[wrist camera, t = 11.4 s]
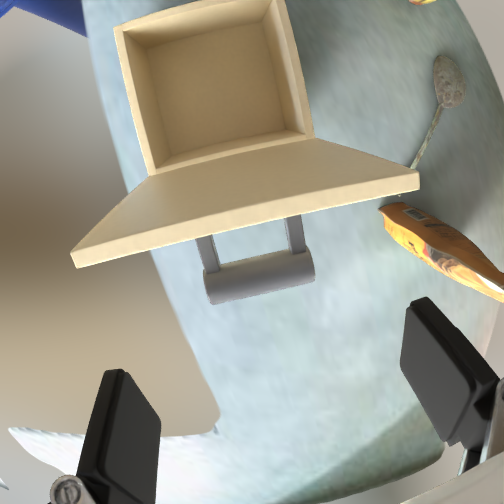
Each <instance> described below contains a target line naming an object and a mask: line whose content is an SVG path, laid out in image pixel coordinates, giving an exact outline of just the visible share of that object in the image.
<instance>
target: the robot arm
mask: <svg viewBox="0 0 504 504" xmlns="http://www.w3.org/2000/svg"><path fill="white" fill-rule="evenodd" d="M400 367H401V370H402V372H403V374H404V375H405V377H406V379H407V380H408V382H409V384H410V386H411V387H412V389H413V391H414V392H415V394H416V396H417V398H418V399H419V401H420V403H421V405H422V406H423V408H424V410H425V412H426V413H427V415H428V417H429V419H430V420H431V422H432V424H433V426H434V428H435V430H436V431H437V433H438V435H439V437H440V439H441V440H442V441H443V442H445V441H447V443H448V445H449V446H452V445H454V444H456V443H458V442H459V441H461V443H462V445H463V446H464V448H465V449H464V453H463V456H462V460H461V464H460V468H459V471H458V475H457V477H455V478H453V479H452V480H450V481H448V482H446V483H444V484H442V485H439V486H437V487H435V488H433V489H431V490H429V491H427V492H425V493H423V494H420V495H418V496H416V497H414V498H411V499H409V500H407V501H404V502H402V503H399V504H504V378H502V379H501V380H500V378H499V377H498V376H497V375H496V373H495V372H494V371H493V370H492V368H491V367H490V366H489V365H488V363H487V362H486V361H485V360H484V358H483V357H482V356H481V355H480V354H479V352H478V351H477V350H476V349H475V348H474V346H473V345H472V344H471V343H470V342H469V340H468V339H467V338H466V337H465V336H464V335H463V333H462V332H461V331H460V330H459V329H458V328H457V327H455V326H454V325H453V324H452V323H451V322H450V321H449V319H448V318H447V317H446V316H445V315H444V314H443V313H442V312H441V311H440V309H439V308H438V307H437V306H436V305H435V304H434V303H433V302H432V301H431V300H430V299H429V298H428V297H423V298H420V299H417V300H415V301H412V302H411V303H410V307H408V308H407V309H406V317H405V326H404V335H403V343H402V350H401V357H400ZM160 433H161V421H160V418H159V416H158V415H157V414H156V412H155V411H154V409H153V408H152V406H151V405H150V404H149V402H148V401H147V399H146V398H145V396H144V395H143V394H142V392H141V391H140V389H139V388H138V386H137V385H136V383H135V382H134V380H133V379H132V377H131V375H130V374H129V373H128V372H125V371H124V370H123V369H114V370H106V371H105V373H104V375H103V378H102V381H101V384H100V387H99V391H98V394H97V397H96V401H95V404H94V408H93V411H92V414H91V418H90V421H89V425H88V429H87V433H86V436H85V440H84V444H83V448H82V452H81V456H80V460H79V464H78V469H77V473H76V476H73V475H64V476H62V477H59V478H58V479H57V480H56V481H55V482H54V483H53V485H52V487H51V490H50V500H51V502H50V503H48V504H155V499H156V482H157V468H158V456H159V445H160Z"/></svg>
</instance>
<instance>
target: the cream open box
mask: <svg viewBox="0 0 504 504" xmlns="http://www.w3.org/2000/svg"><path fill="white" fill-rule="evenodd" d="M113 29H114V34H115V39H116V45H117V50H118V54H119V59H120V64H121V69H122V73H123V78H124V82H125V87H126V91H127V95H128V99H129V103H130V108H131V112H132V116H133V120H134V124H135V127H136V131H137V135H138V139H139V143H140V146H141V150H142V154H143V157H144V161H145V164H146V168H147V171H148V175H149V176H153V175H156V174H159V173H163V172H166V171H170V170H174V169H177V168H181V167H185V166H188V165H192V164H196V163H200V162H204V161H208V160H212V159H216V158H220V157H224V156H229V155H233V154H237V153H242V152H246V151H251V150H255V149H260V148H265V147H270V146H275V145H280V144H285V143H290V142H296V141H301V140H307V139H313V138H315V134H314V128H313V123H312V118H311V112H310V107H309V102H308V97H307V92H306V87H305V83H304V78H303V73H302V69H301V64H300V60H299V55H298V51H297V47H296V43H295V39H294V35H293V31H292V27H291V23H290V19H289V15H288V11H287V8H286V4H285V0H201V1H196V2H192V3H188V4H184V5H180V6H176V7H172V8H169V9H165V10H162V11H159V12H155V13H152V14H149V15H146V16H143V17H140V18H137V19H134V20H131V21H128V22H126V23H123V24H120V25H118V26H115V27H113Z"/></svg>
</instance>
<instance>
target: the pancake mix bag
mask: <svg viewBox="0 0 504 504" xmlns="http://www.w3.org/2000/svg"><path fill="white" fill-rule="evenodd" d="M377 210H378V211H379V212H381V213H382V214H383V215H384V227H385V229H386V230H387V231H388V232H389V233H390V235H391V236H392V237H393V238H394V239H395V240H396V241H397V242H398V243H399V244H400V245H402V246H403V247H405V248H406V249H407V250H409V251H410V252H411V253H413V254H414V255H416V256H417V257H418V258H420V259H421V260H423V261H424V262H426V263H427V264H429V265H430V266H432V267H433V268H435V269H436V270H438V271H439V272H441V273H443V274H445V275H446V276H448V277H450V278H452V279H454V280H456V281H458V282H460V283H462V284H464V285H467V286H469V287H471V288H474V289H476V290H478V291H480V292H482V293H483V294H486V295H488V296H490V297H492V298H495V299H497V300H499V301H501V302H503V303H504V273H502V272H500V271H499V270H498V269H497V268H496V267H495V266H494V264H493V263H492V262H491V261H490V260H489V259H488V258H487V257H486V256H485V255H484V253H483V252H482V251H481V250H480V249H479V248H478V247H477V246H476V245H475V244H474V243H473V242H472V241H471V240H469V239H468V238H467V237H466V236H464V235H463V234H462V233H460V232H459V231H457V230H456V229H454V228H452V227H451V226H449V225H448V224H446V223H444V222H442V221H441V220H439V219H437V218H435V217H433V216H431V215H429V214H427V213H425V212H423V211H421V210H419V209H417V208H414V207H410V206H407V205H406V204H405V203H403V202H396V203H392V204H389V205H386V206H384V207H382V208H380V209H377Z"/></svg>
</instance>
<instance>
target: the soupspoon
mask: <svg viewBox="0 0 504 504" xmlns="http://www.w3.org/2000/svg"><path fill="white" fill-rule="evenodd" d="M433 76H434V86H435V91H436V96H437V99H438V102H439V104H438V107H437V111H436V113H435V116H434V119H433V121H432V124H431V126H430V128H429V131H428V133H427V135H426V137H425V139H424V141H423V144H422V146H421V148H420V150H419V152H418V154H417V156H416V158H415V160H414V161H413V163H412V165H411V167H410V169H413V170H414V169H415V168H416V166H417V164H418V162H419V161H420V159H421V157H422V155H423V153H424V151H425V149H426V147H427V145H428V143H429V141H430V139H431V136H432V134H433V132H434V130H435V128H436V126H437V124H438V121H439V119H440V117H441V114H442V111H443V109H444V108H453V107H456V106H458V105H460V104H461V103H462V102H463V100H464V98H465V95H466V84H465V80H464V77H463V75H462V73H461V71H460V70H459V68H458V67H457V66H456V65H455V63H454V62H452V61H451V60H450V59H448V58H446V57H444V56H438V57H437V58H436V60H435V62H434V69H433ZM396 195H398V196H399V197H401V195H400V193H399V194H396Z"/></svg>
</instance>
